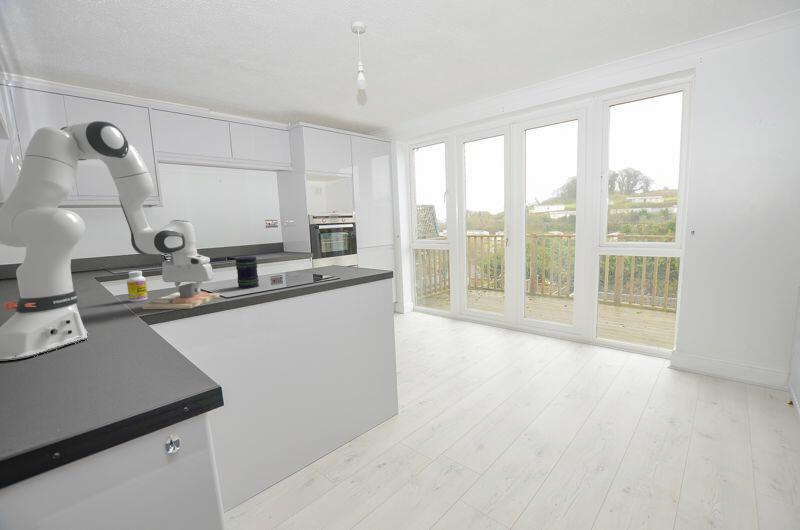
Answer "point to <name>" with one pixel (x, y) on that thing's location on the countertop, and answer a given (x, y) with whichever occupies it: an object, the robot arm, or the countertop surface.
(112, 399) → the countertop surface
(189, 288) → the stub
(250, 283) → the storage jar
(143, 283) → the supplement bottle
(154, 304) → the ticket board
